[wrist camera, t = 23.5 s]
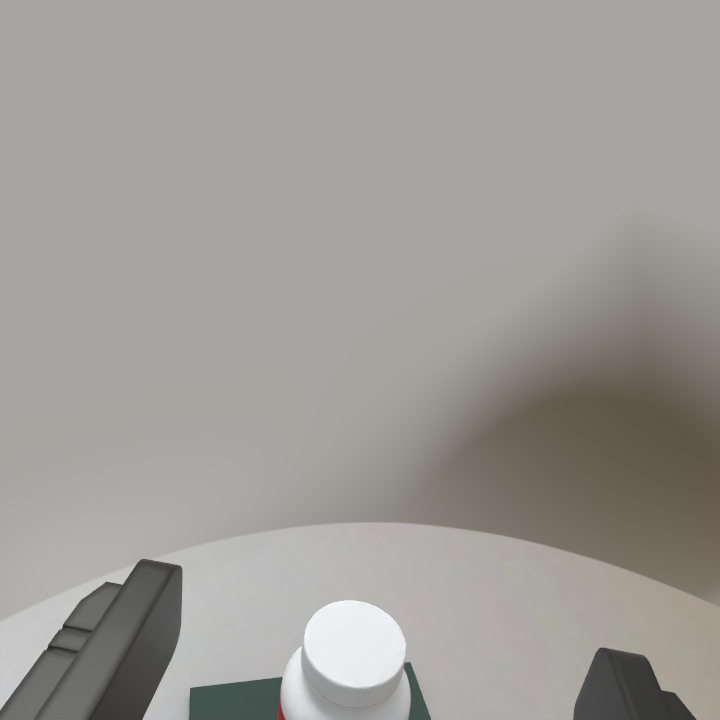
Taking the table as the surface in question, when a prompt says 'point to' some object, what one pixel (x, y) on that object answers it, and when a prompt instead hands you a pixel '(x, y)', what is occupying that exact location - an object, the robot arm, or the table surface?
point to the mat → (268, 700)
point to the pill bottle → (347, 667)
